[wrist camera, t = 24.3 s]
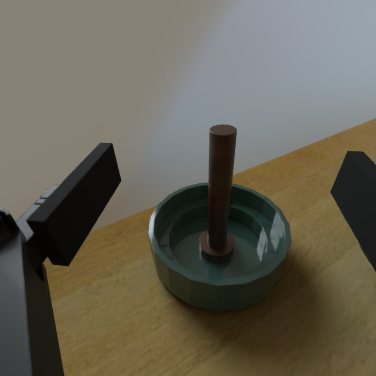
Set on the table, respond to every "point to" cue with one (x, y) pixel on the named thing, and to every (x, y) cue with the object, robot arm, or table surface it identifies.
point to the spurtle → (219, 195)
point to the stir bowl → (224, 271)
